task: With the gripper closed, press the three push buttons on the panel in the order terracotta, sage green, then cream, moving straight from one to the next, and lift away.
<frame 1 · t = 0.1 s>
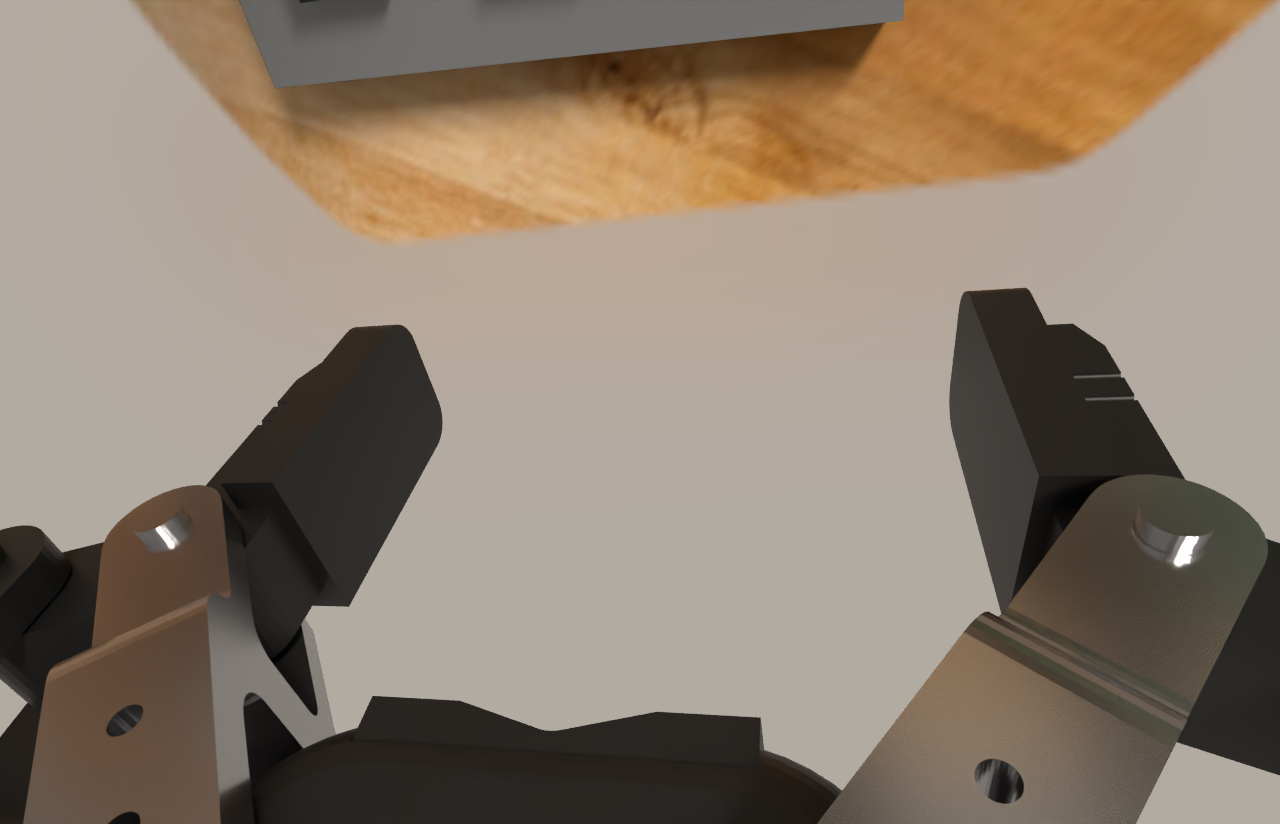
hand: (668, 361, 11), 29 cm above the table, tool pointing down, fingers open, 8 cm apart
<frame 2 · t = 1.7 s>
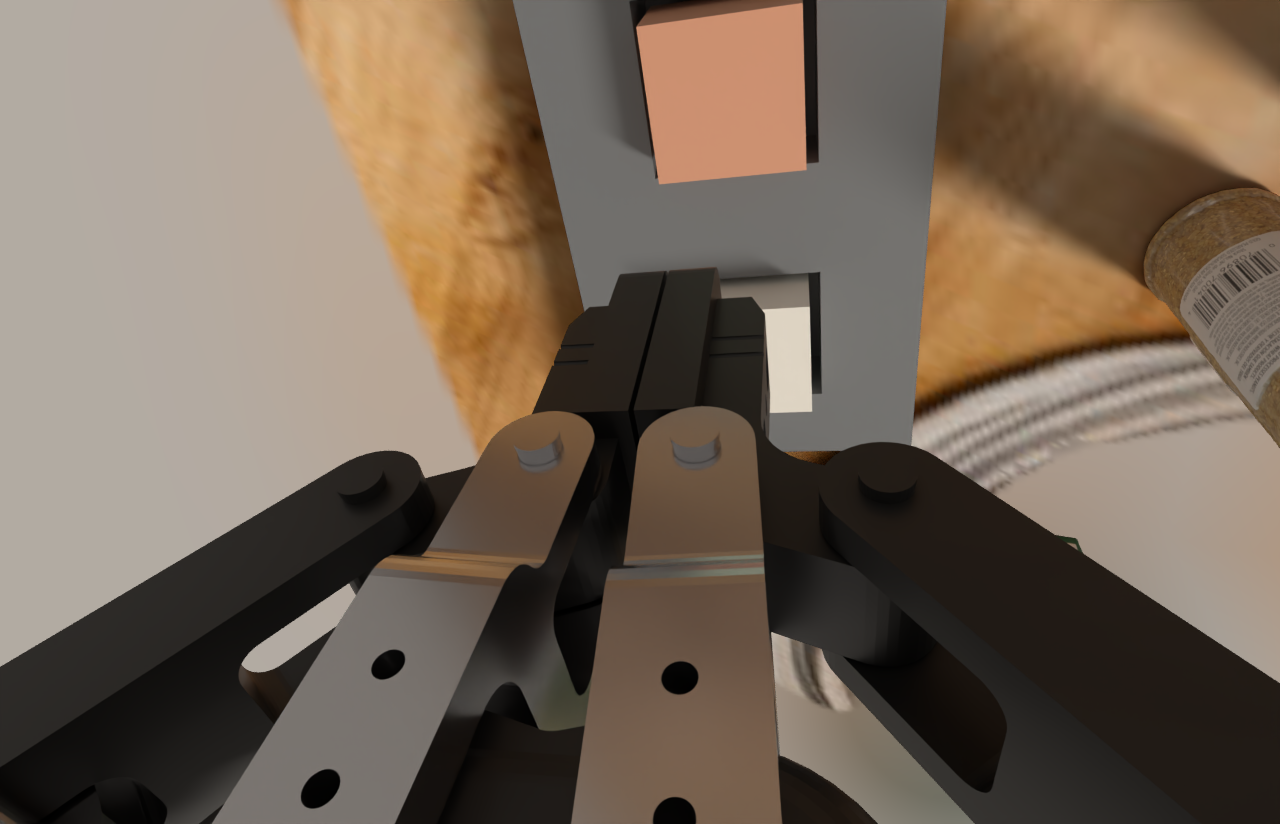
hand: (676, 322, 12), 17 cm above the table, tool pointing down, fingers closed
button panel: (733, 59, 25), on the table
sprinkles bottle: (1211, 242, 26), on the table
button terracotta: (727, 87, 22), point 3 cm above the table, slide at 0.0 cm
button cream: (748, 343, 28), point 3 cm above the table, slide at 0.0 cm
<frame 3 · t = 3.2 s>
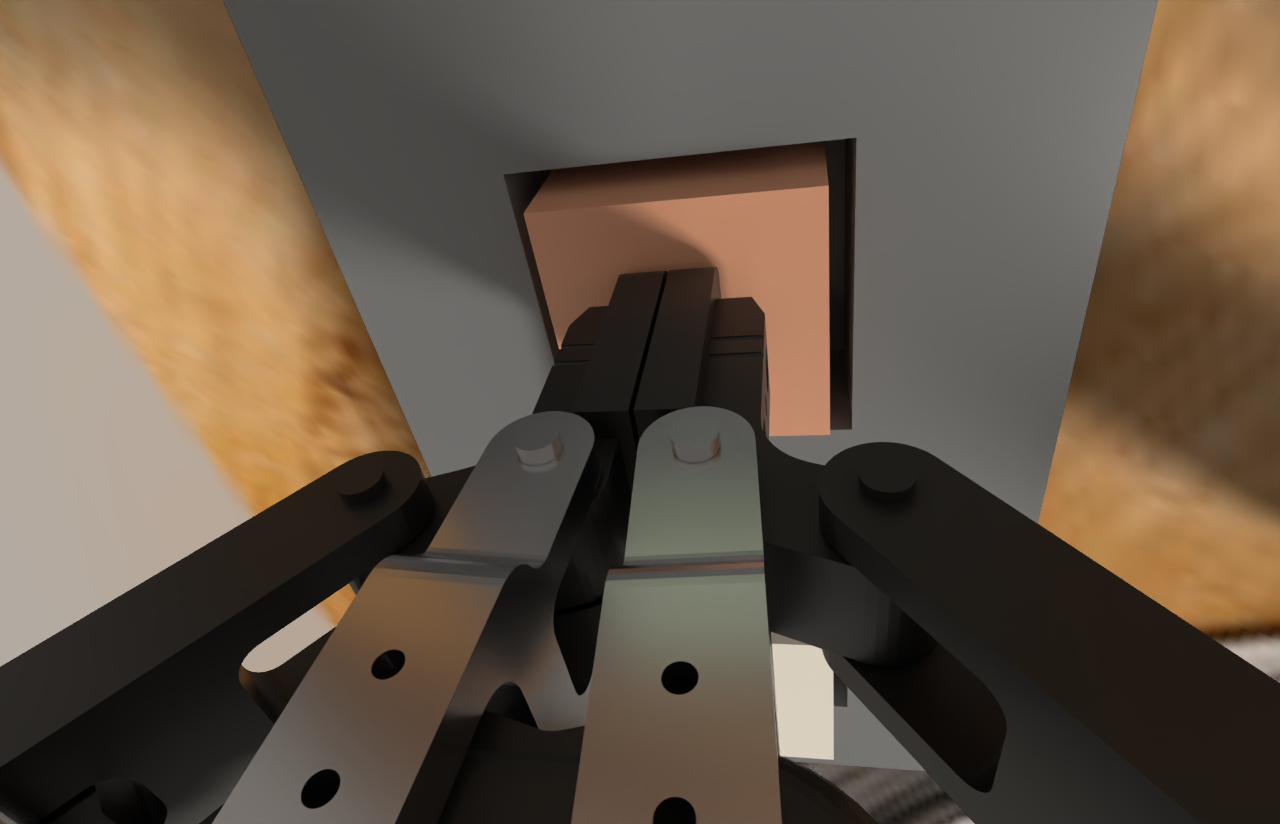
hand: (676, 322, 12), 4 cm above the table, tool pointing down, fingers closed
button panel: (706, 233, 15), on the table
button terracotta: (695, 289, 13), point 2 cm above the table, slide at 1.0 cm, touching gripper
button cream: (734, 647, 18), point 3 cm above the table, slide at 0.0 cm
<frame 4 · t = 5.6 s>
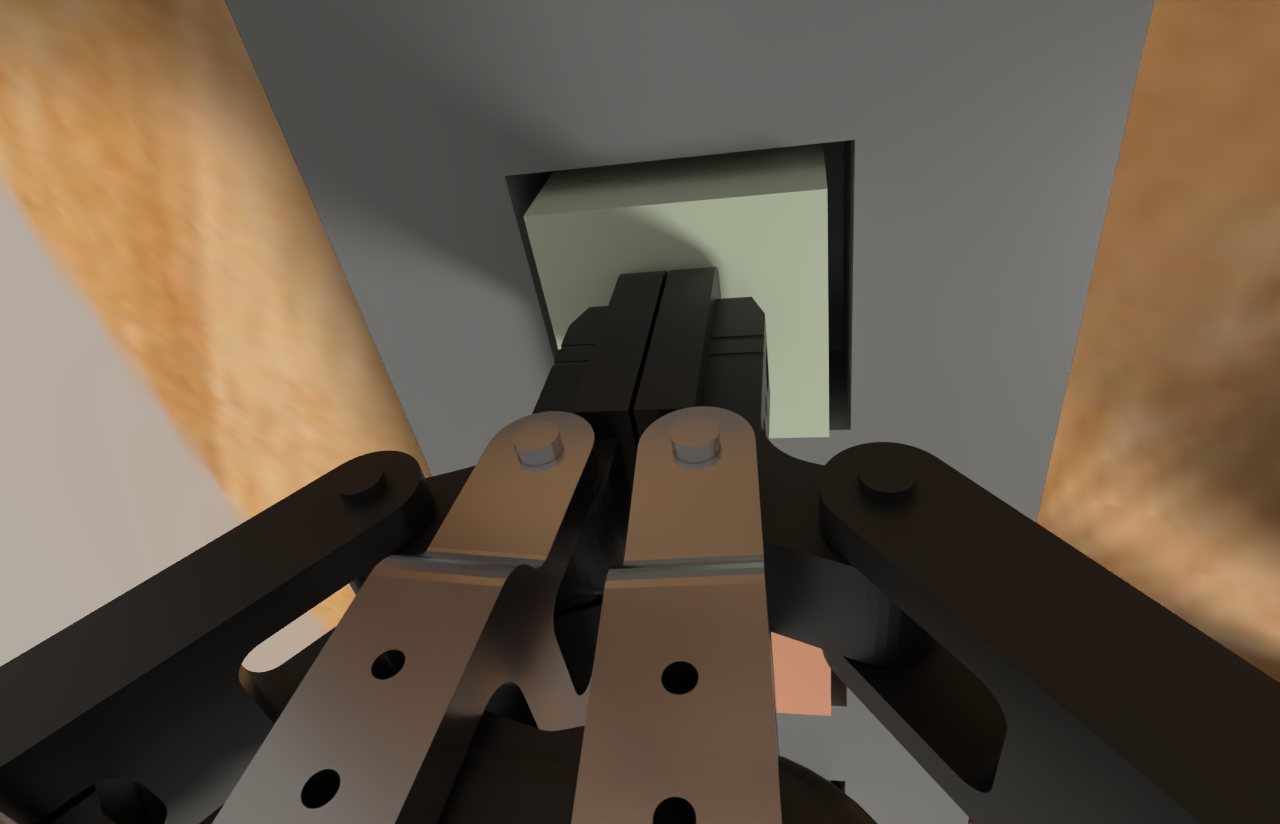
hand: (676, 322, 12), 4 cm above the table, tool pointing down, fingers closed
button panel: (741, 545, 20), on the table
button sage: (695, 291, 13), point 2 cm above the table, slide at 0.9 cm, touching gripper
button terracotta: (736, 609, 19), point 2 cm above the table, slide at 1.1 cm
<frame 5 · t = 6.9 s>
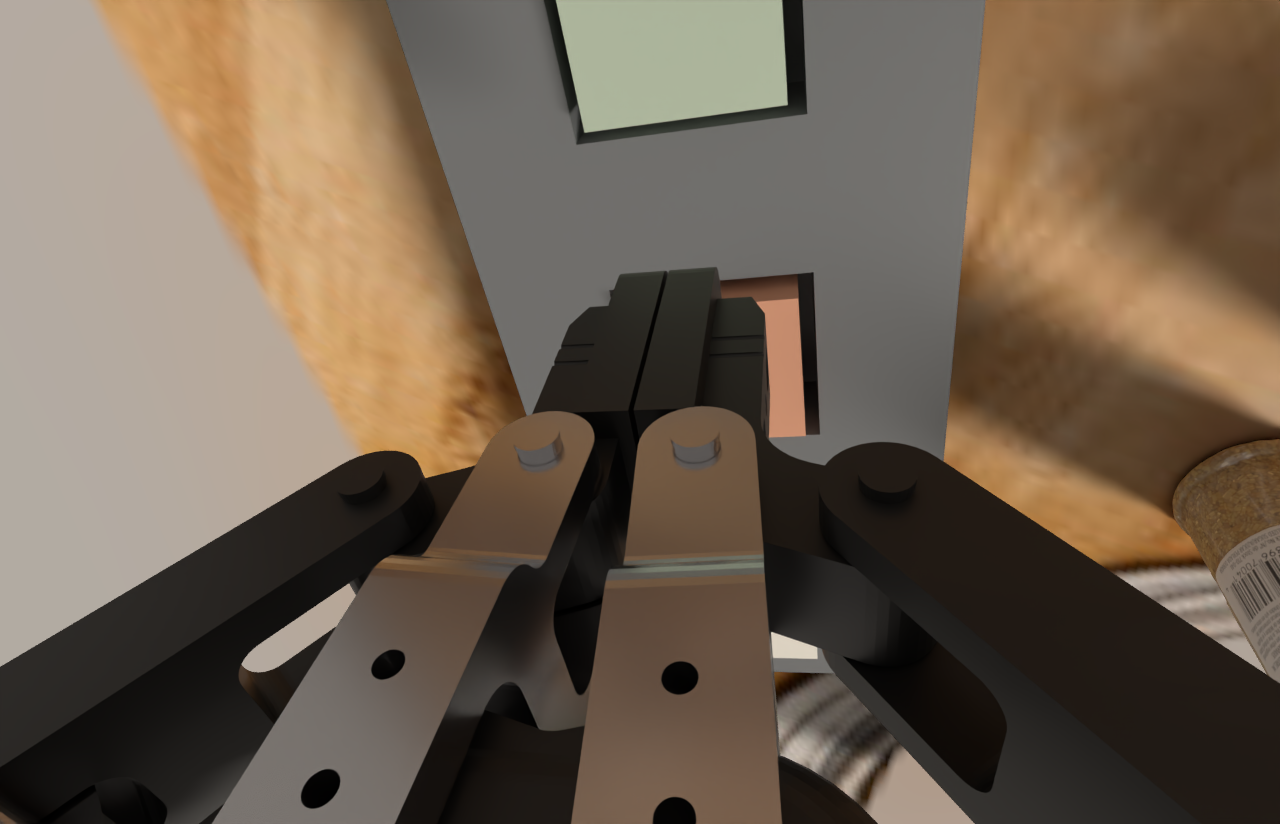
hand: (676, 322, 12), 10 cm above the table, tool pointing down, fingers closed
button panel: (725, 309, 23), on the table
sprinkles bottle: (1246, 480, 24), on the table
button terracotta: (721, 347, 21), point 2 cm above the table, slide at 1.1 cm
button cream: (748, 584, 26), point 3 cm above the table, slide at 0.0 cm
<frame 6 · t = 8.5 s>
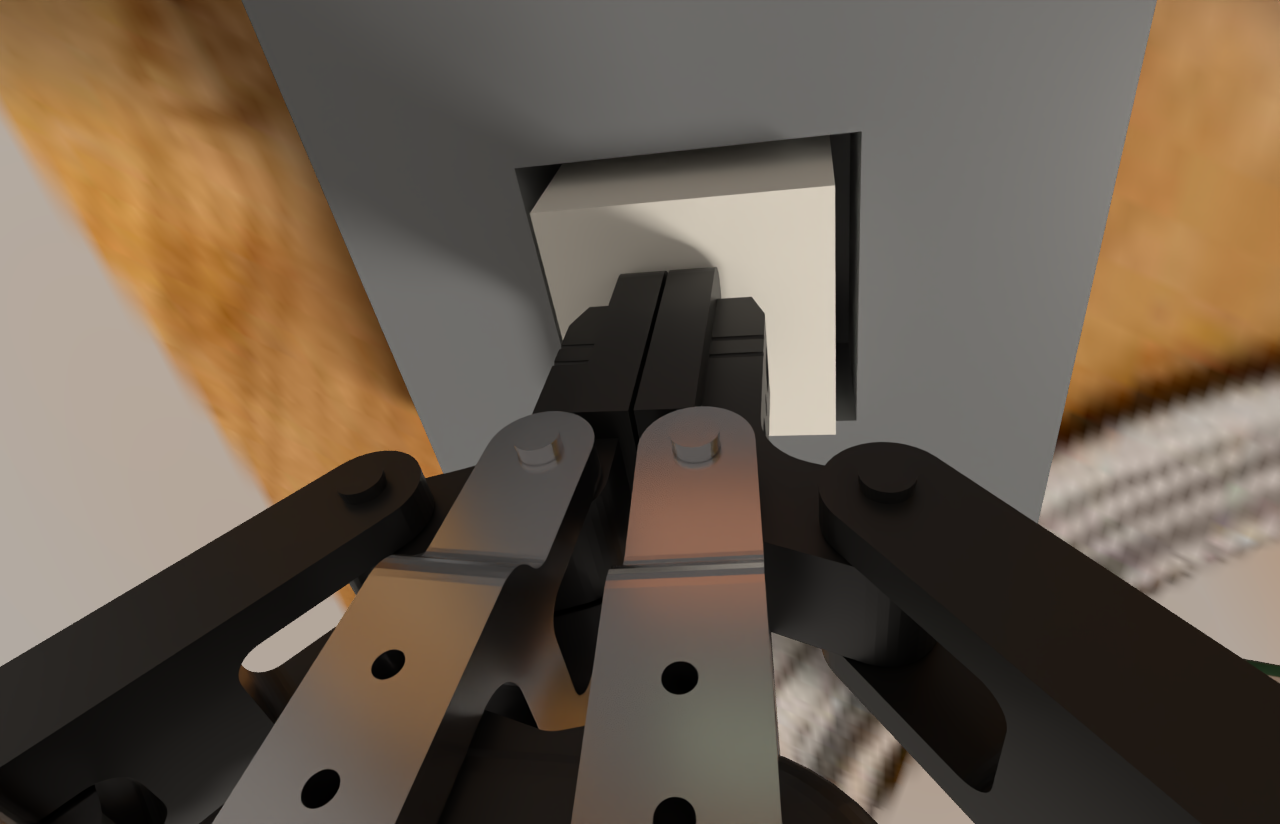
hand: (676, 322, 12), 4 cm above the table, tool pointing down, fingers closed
coffee box: (1166, 717, 23), on the table
button cream: (701, 288, 13), point 2 cm above the table, slide at 0.7 cm, touching gripper
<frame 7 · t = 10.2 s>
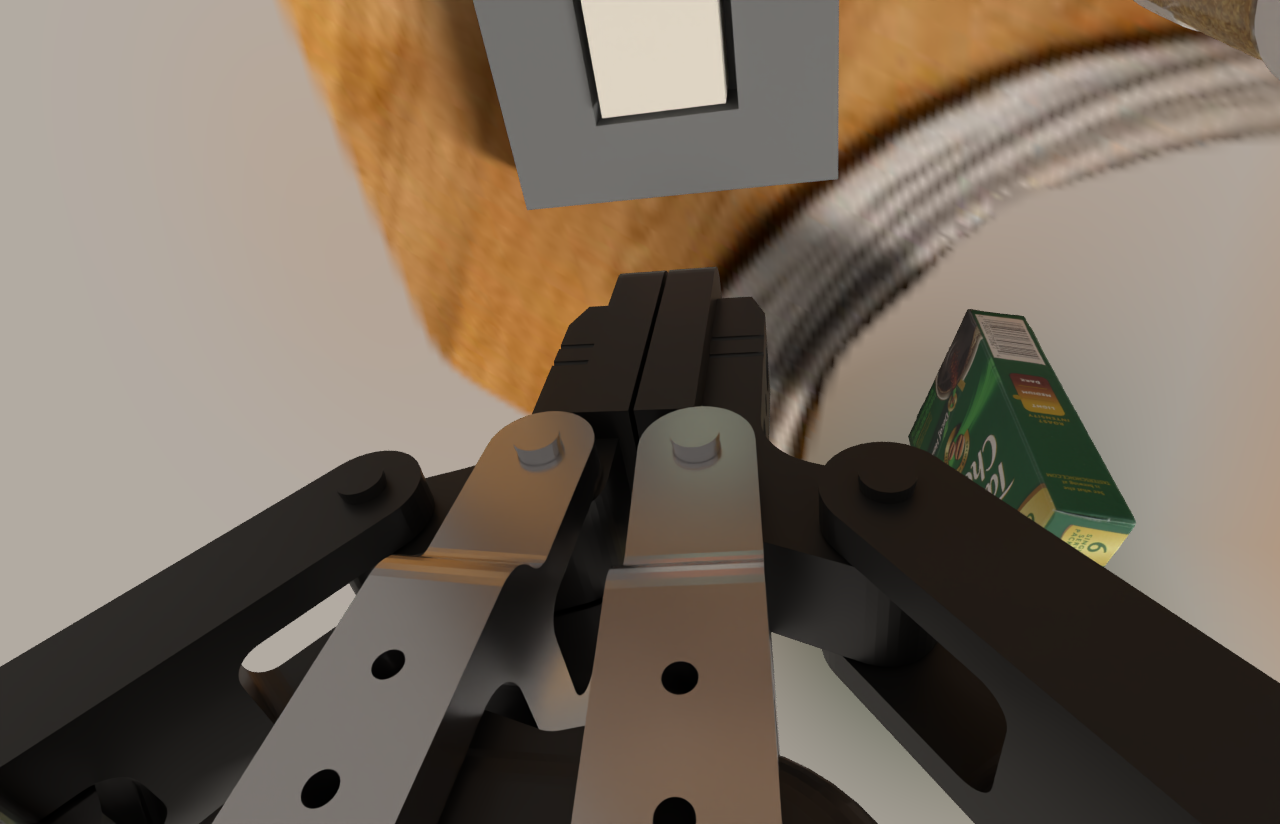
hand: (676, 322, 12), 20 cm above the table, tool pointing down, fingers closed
coffee box: (961, 374, 36), on the table
button cream: (658, 33, 26), point 2 cm above the table, slide at 1.1 cm
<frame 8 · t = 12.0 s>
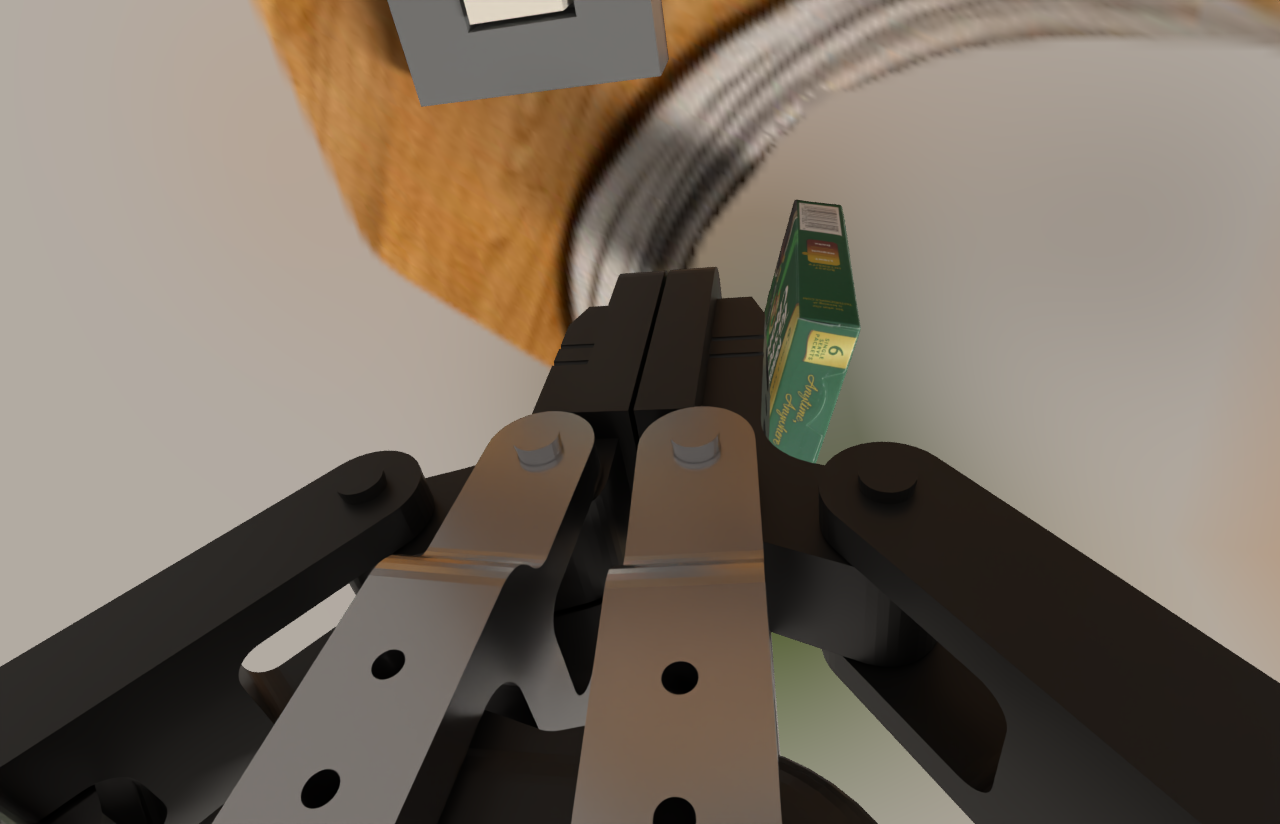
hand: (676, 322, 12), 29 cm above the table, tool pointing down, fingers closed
coffee box: (800, 261, 42), on the table
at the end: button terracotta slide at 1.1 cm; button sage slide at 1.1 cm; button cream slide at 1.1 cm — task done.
